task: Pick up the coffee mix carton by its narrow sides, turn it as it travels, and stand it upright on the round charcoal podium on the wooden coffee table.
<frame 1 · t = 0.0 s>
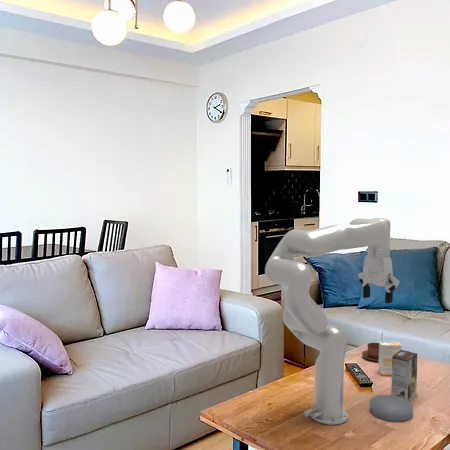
hand: (377, 300, 176), 37 cm above the table, tool pointing down, fingers open, 9 cm apart
supplement box: (389, 374, 203), on the table
podium: (390, 412, 169), on the table
coffee box: (403, 397, 181), on the table
cup and saucer: (375, 359, 221), on the table
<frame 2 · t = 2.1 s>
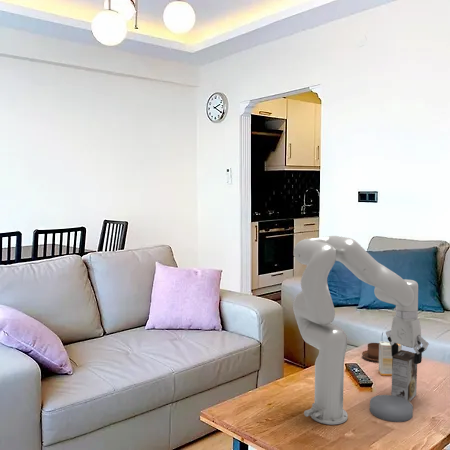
hand: (406, 359, 180), 14 cm above the table, tool pointing down, fingers open, 9 cm apart
nothing on the table moved.
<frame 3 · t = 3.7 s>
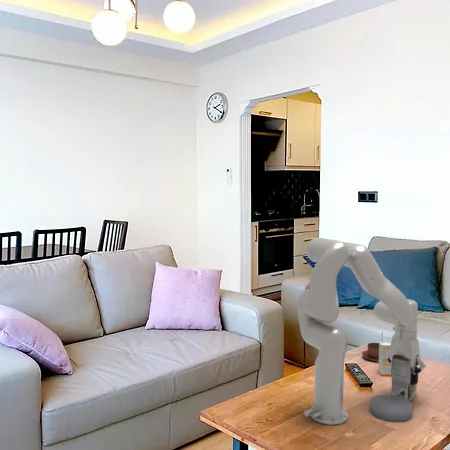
hand: (404, 380, 180), 6 cm above the table, tool pointing down, fingers closed on coffee box, 7 cm apart
coffee box: (403, 397, 181), on the table, touching gripper
everything else where it was.
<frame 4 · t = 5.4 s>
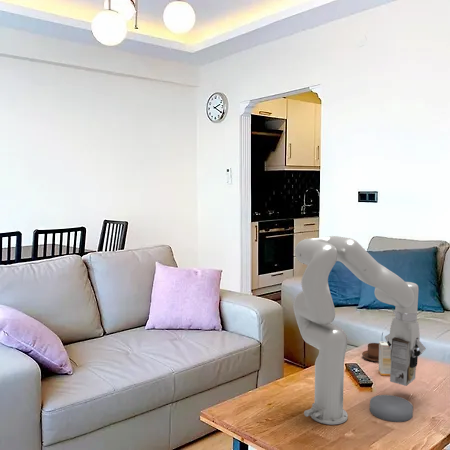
hand: (403, 363, 179), 13 cm above the table, tool pointing down, fingers closed on coffee box, 7 cm apart
coffee box: (402, 380, 180), point 6 cm above the table, touching gripper
everything else where it was.
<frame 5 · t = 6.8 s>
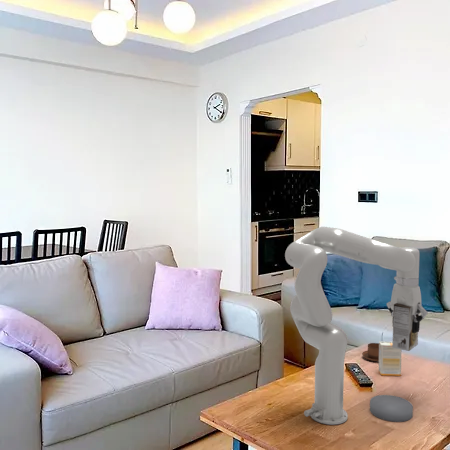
hand: (405, 329, 179), 26 cm above the table, tool pointing down, fingers closed on coffee box, 7 cm apart
coffee box: (404, 346, 179), point 19 cm above the table, touching gripper
everything else where it was.
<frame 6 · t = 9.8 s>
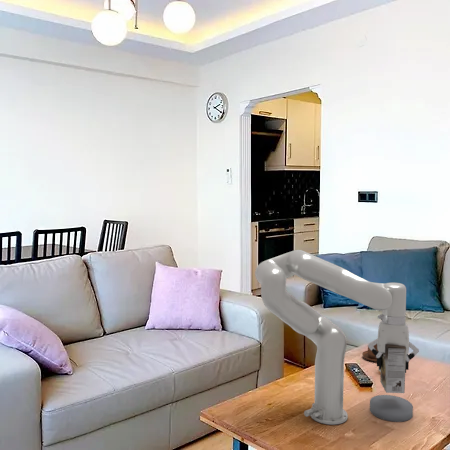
hand: (392, 369, 168), 15 cm above the table, tool pointing down, fingers closed on coffee box, 7 cm apart
coffee box: (392, 388, 168), point 8 cm above the table, touching gripper
everything else where it was.
when the fingers open (11 cm above the table, at t = 11.7 s): coffee box drops 1 cm, resting on podium.
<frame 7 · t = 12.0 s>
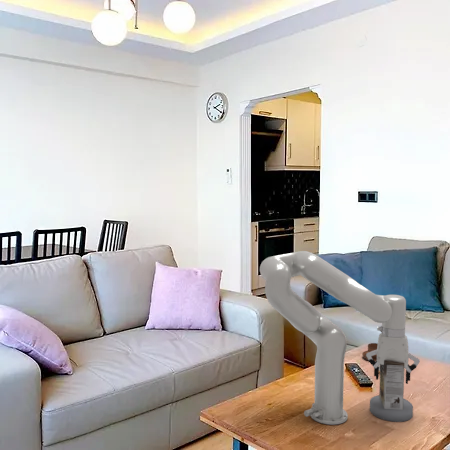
hand: (391, 380, 168), 11 cm above the table, tool pointing down, fingers open, 9 cm apart
coffee box: (390, 404, 169), point 3 cm above the table, touching podium
everything else where it was.
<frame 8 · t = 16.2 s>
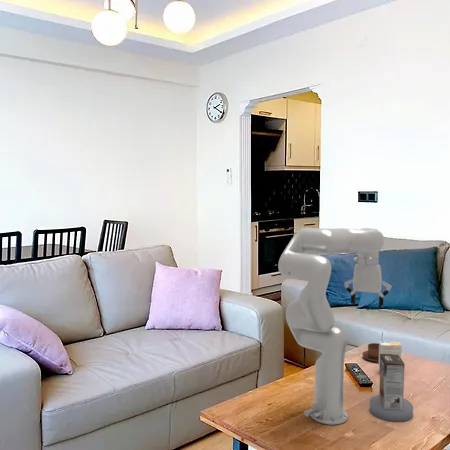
hand: (366, 306, 185), 32 cm above the table, tool pointing down, fingers open, 9 cm apart
nothing on the table moved.
at the end: coffee box inside the target area on the podium (0.2 cm from its centre), point 2.8 cm above the podium's base; coffee box tilted 0°; the gripper is holding nothing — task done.
